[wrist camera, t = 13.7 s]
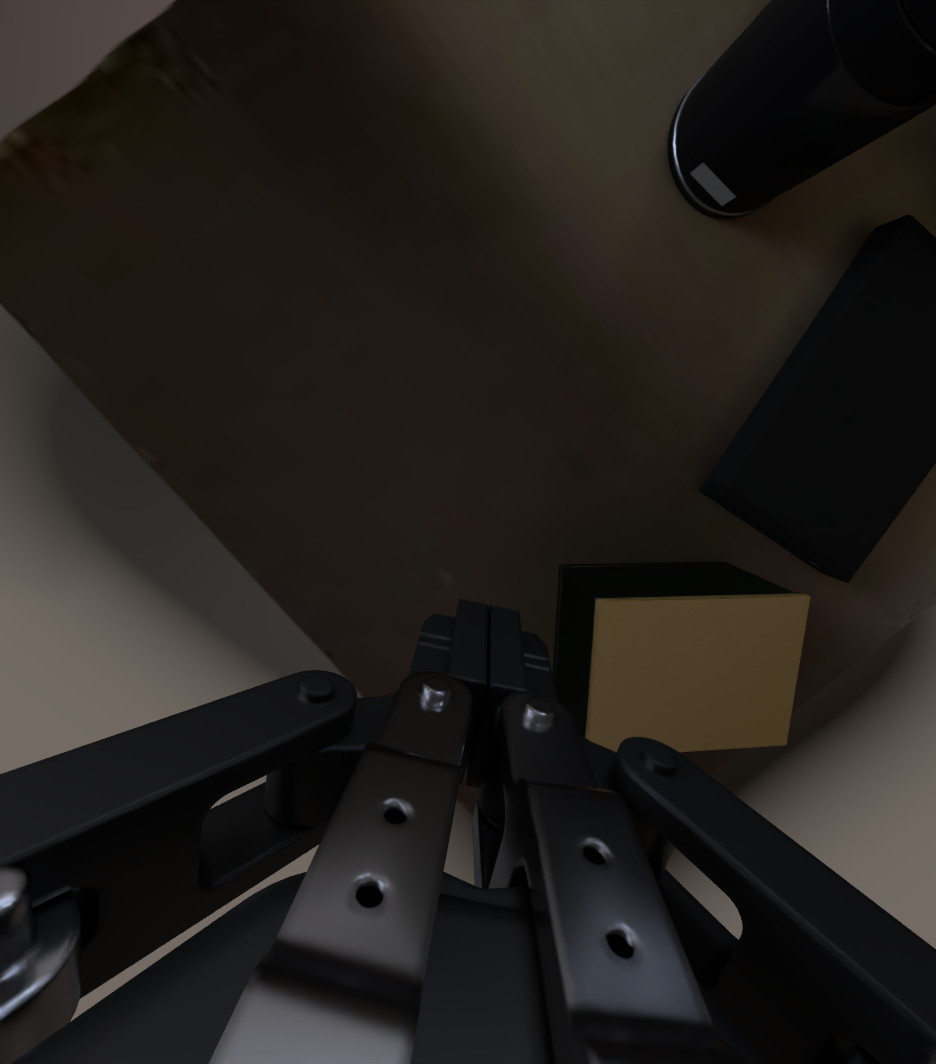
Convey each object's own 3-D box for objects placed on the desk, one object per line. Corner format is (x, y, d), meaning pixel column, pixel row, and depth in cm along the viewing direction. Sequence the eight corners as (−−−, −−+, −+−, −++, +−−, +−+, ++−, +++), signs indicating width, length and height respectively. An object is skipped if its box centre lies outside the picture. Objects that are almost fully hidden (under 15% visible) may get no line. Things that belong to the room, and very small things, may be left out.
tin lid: (804, 593, 36) (811, 596, 36) (780, 740, 39) (786, 745, 38) (595, 598, 35) (599, 601, 34) (584, 753, 37) (587, 758, 36)
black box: (725, 561, 44) (796, 593, 36) (709, 685, 47) (773, 741, 39) (559, 564, 43) (595, 598, 35) (551, 693, 45) (584, 752, 37)
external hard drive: (992, 335, 43) (1035, 329, 40) (821, 573, 46) (849, 584, 43) (872, 228, 40) (910, 213, 37) (697, 490, 43) (719, 496, 40)
